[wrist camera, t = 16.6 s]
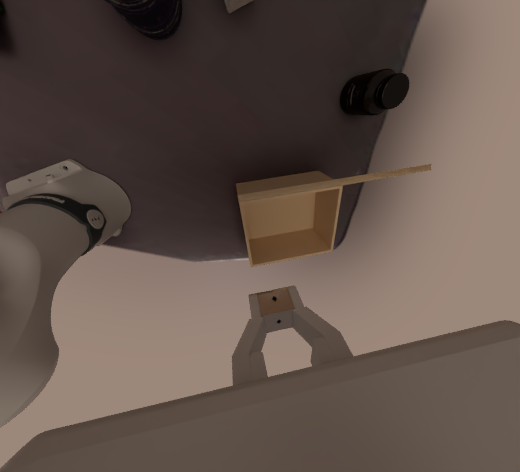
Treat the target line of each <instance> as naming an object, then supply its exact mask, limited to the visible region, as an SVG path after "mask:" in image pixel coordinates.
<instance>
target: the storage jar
mask: <svg viewBox="0 0 520 472" xmlns="http://www.w3.org/2000/svg"><path fill="white" fill-rule="evenodd" d="M106 1H107V2H108V3H109V4H111V5H112V6H113V7H114V9H115V10H116V11H117V12H118V13H119V14H120V15H121V16H122V17H123V18H124V19H125V20H126V21H127V22H128V23H129V24H131V25H132V26H133V27H134V28H136V29H137V30H138V31H139V32H140V33H142V34H143V35H145V36H147V37H149V38H151V39H156V40H163V39H167V38H169V37H171V36H172V35H173V34H174V33H175V32H176V31H177V29H178V27H179V24H180V21H181V16H182V0H106Z"/></svg>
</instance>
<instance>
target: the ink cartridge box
mask: <svg viewBox="0 0 520 472" xmlns="http://www.w3.org/2000/svg"><path fill="white" fill-rule="evenodd" d="M224 1H225V4H226V7H227V10H228V13H232V12H233V11H235V10H237V9H239V8H240V7H242V6H244V5H246V4H248V3H249V2H251V1H253V0H224Z"/></svg>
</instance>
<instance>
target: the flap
mask: <svg viewBox="0 0 520 472" xmlns="http://www.w3.org/2000/svg"><path fill="white" fill-rule="evenodd" d="M428 170H431V164H429V165H422V166H416V167H410V168H404V169H398V170H391V171H385V172H379V173H373V174H367V175H361V176H354V177H348V178H342V179H336V180H330V181H324V182H317V183H311V184H305V185H299V186H293V187H287V188H280V189H274V190H268V191H262V192H256V193H250V194H243V195H238V200H239V202H245V201H251V200H257V199H263V198H270V197H276V196H282V195H288V194H294V193H300V192H306V191H312V190H318V189H324V188H330V187H336V186H342V185H348V184H354V183H359V182H365V181H371V180H376V179H382V178H388V177H393V176H399V175H405V174H411V173H416V172H422V171H428Z"/></svg>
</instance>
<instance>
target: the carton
mask: <svg viewBox="0 0 520 472" xmlns="http://www.w3.org/2000/svg"><path fill="white" fill-rule="evenodd" d="M330 180H333V179H332V178H330V177H328V176H327V175H325V174H323V173H322V172H320V171H313V172H306V173H300V174H294V175H287V176H281V177H275V178H268V179H262V180H255V181H249V182H243V183H236V188H237V194H238V195H243V194H250V193H256V192H262V191H268V190H274V189H280V188H287V187H293V186H299V185H305V184H311V183H317V182H324V181H330ZM342 187H343V185H342V186H336V187H330V188H324V189H318V190H312V191H306V192H300V193H294V194H288V195H282V196H276V197H270V198H263V199H257V200H251V201H245V202H239V205H240V210H241V216H242V221H243V227H244V232H245V238H246V243H247V249H248V254H249V260H250V265H251V267H254V266H259V265H265V264H270V263H275V262H280V261H285V260H290V259H295V258H301V257H306V256H311V255H316V254H321V253H326V252H331V251H333V245H334V238H335V232H336V226H337V219H338V213H339V206H340V200H341V194H342Z"/></svg>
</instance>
